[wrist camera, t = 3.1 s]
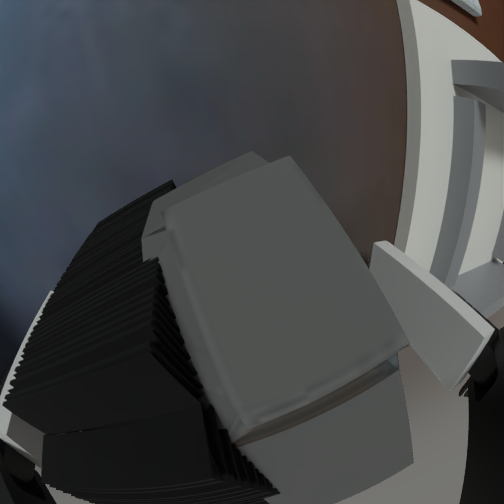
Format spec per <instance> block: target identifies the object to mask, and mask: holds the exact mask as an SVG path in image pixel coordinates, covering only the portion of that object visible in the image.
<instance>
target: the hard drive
mask: <svg viewBox="0 0 504 504" xmlns="http://www.w3.org/2000/svg"><path fill="white" fill-rule="evenodd" d="M451 1H452V2H454V3H455V4H457V5H458V6H460V7H461V8H463V9H464V10H466V11H467V12H469V13H470V14H471V15H473V16H481V14H482V12H481V8H480V5H479V2H478V0H451Z"/></svg>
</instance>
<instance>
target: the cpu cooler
mask: <svg viewBox="0 0 504 504" xmlns="http://www.w3.org/2000/svg"><path fill="white" fill-rule="evenodd" d="M71 262H72V263H70V266H68V267H67V269H66V272H65V273H63V276H62V277H61V280H60V281H59V283H57V287H55V290H53V291H54V293H52V294H51V295H50V298H49V299H48V300H47V301H48V302H47V303H46V304H45V307H44V308H43V311H42V312H41V313H42V315H41V316H39V318H40V320H38V321H37V325H35V326H34V327H33V331H32V332H31V333H30V335H31V336H30V337H28V341H29V342H27V343H26V344H25V348H23V351H22V352H23V353H24V354H23V355H21V357H22V358H23V360H21V361H19V362H18V363H19V364H20V365H19V366H17V367H15V370H14V371H15V372H16V374H14V375H13V376H14V377H15V378H16V379H13V380H11V381H10V383H9V384H10V385H11V386H12V387H14V388H12V389H10V390H7V391H8V392H9V393H10V394H7V395H5V398H4V399H6V400H7V401H4V402H3V404H2V406H4V407H5V408H6V409H8V410H9V411H10V412H12V413H13V414H15V415H16V416H18V417H19V418H21V419H22V420H24V421H25V422H27V423H28V424H30V425H31V426H33V427H35V428H36V429H38V430H40V431H41V432H43V433H45V434H46V435H43V448H42V472H41V474H42V476H41V483H44V484H50V487H53V488H56V490H61V491H63V493H69V494H71V496H75V497H76V498H79V499H83V500H86V501H89V502H90V503H95V504H334V503H337V502H339V501H341V500H344V499H346V498H349V497H351V496H353V495H355V494H357V493H360V492H362V491H364V490H366V489H368V488H370V487H372V486H374V485H376V484H378V483H380V482H382V481H383V480H385V479H387V478H389V477H391V476H393V475H394V474H396V473H398V472H399V471H401V470H403V469H405V468H406V467H407V466H409V465H411V464H412V463H414V462H413V452H412V442H411V434H410V427H409V419H408V413H407V407H406V401H405V395H404V390H403V385H402V380H401V375H400V371H399V362H398V353H397V352H398V351H399V350H401V349H402V348H404V347H405V346H406V345H408V344H409V343H410V342H409V340H408V338H407V336H406V334H405V332H404V330H403V328H402V326H401V325H400V323H399V321H398V319H397V317H396V315H395V313H394V312H393V310H392V308H391V306H390V304H389V303H388V301H387V299H386V297H385V296H384V294H383V292H382V290H381V289H380V287H379V285H378V283H377V282H376V280H375V278H374V277H373V275H372V273H371V272H370V270H369V268H368V267H367V265H366V264H365V262H364V260H363V259H362V257H361V256H360V254H359V252H358V251H357V249H356V248H355V246H354V245H353V243H352V242H351V240H350V238H349V237H348V235H347V234H346V232H345V231H344V229H343V228H342V226H341V225H340V224H339V222H338V221H337V219H336V218H335V216H334V215H333V213H332V212H331V210H330V209H329V208H328V206H327V205H326V203H325V202H324V201H323V199H322V198H321V196H320V195H319V194H318V192H317V191H316V190H315V188H314V187H313V185H312V184H311V183H310V181H309V180H308V179H307V177H306V176H305V175H304V173H303V172H302V171H301V170H300V168H299V167H298V166H297V164H296V163H295V162H294V161H293V159H292V158H291V157H290V155H289V156H287V157H284V158H281V159H279V160H276V161H274V162H271V163H268V162H267V161H266V160H264V159H263V158H261V157H260V156H259V155H257V154H256V153H254V152H253V151H250V152H248V153H246V154H244V155H241V156H239V157H237V158H235V159H233V160H231V161H229V162H227V163H225V164H222V165H220V166H218V167H216V168H214V169H212V170H210V171H208V172H206V173H204V174H202V175H200V176H198V177H196V178H194V179H193V180H191V181H189V182H187V183H185V184H183V185H181V186H179V187H178V188H176V186H175V184H174V182H173V180H170V181H168V182H167V183H165V184H163V185H161V186H159V187H157V188H156V189H154V190H152V191H150V192H148V193H147V194H145V195H143V196H141V197H140V198H138V199H136V200H135V201H133V202H131V203H129V204H128V205H126V206H124V207H123V208H121V209H119V210H118V211H116V212H115V213H113V214H111V215H110V216H108V217H107V218H105V219H103V220H102V221H100V222H99V223H98V224H97V225H96V227H95V228H94V230H93V232H91V234H90V235H89V236H88V238H87V239H86V240H85V242H84V244H83V245H82V246H81V248H80V249H79V251H78V253H76V255H75V256H74V258H73V259H72V261H71ZM79 431H81V432H79ZM72 432H73V433H72ZM62 433H64V434H62Z"/></svg>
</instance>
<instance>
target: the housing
mask: <svg viewBox="0 0 504 504" xmlns="http://www.w3.org/2000/svg"><path fill="white" fill-rule="evenodd" d="M396 1H397V6H398V11H399V16H400V22H401V29H402V36H403V44H404V53H405V64H406V79H407V144H406V160H405V172H404V182H403V191H402V199H401V206H400V213H399V219H398V226H397V231H396V237H395V242H394V246H395V247H396V248H398V249H399V250H400V251H402V252H403V253H404V254H406V255H407V256H408V257H410V258H411V259H412V260H414V261H415V262H416V263H418V264H419V265H420V266H422V267H423V268H424V269H425V270H427V271H428V272H429V273H431V274H432V275H433V276H434V277H436V278H437V279H438V280H439V281H441V282H442V283H443V284H444V285H445V286H447V287H448V288H449V289H451V290H453V291H455V292H456V293H458V294H459V295H460V296H462V297H463V298H464V299H465V300H466V302H469V303H470V304H471V305H472V306H473V308H475V309H477V310H478V311H479V312H480V313H481V314H482V315H483V316H484V317H485V318H486V319H487V318H488V317H490V316H491V315H492V314H494V313H495V312H496V311H497V310H498V309H500V308H501V307H502V306H504V265H503V264H502V263H503V262H504V62H501V61H500V60H499V59H498V58H497V57H496V56H495V55H493V54H492V53H491V52H490V51H489V50H488V49H487V48H485V47H484V46H483V45H482V44H481V43H479V42H478V41H477V40H476V39H474V38H473V37H472V36H471V35H469V34H468V33H467V32H465V31H464V30H463V29H461V28H460V27H459V26H457V25H456V24H454V23H453V22H451V21H450V20H448V19H447V18H445V17H444V16H442V15H441V14H439V13H438V12H436V11H434V10H433V9H431V8H429V7H428V6H426V5H424V4H422V3H421V2H419V1H417V0H396Z"/></svg>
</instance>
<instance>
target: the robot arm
mask: <svg viewBox="0 0 504 504" xmlns="http://www.w3.org/2000/svg"><path fill="white" fill-rule="evenodd" d="M369 270H370V272H371V273H372V275H373V277H374V278H375V280H376V282H377V283H378V285H379V287H380V289H381V290H382V292H383V294H384V296H385V297H386V299H387V301H388V303H389V304H390V306H391V308H392V310H393V312H394V313H395V315H396V317H397V319H398V321H399V323H400V325H401V326H402V328H403V330H404V332H405V334H406V336H407V338H408V340H409V342H410V343H409V344H410V346H411V347H412V348H413V349H414V350H415V351H416V353H417V354H418V355H419V356H420V357H421V358H422V360H423V361H424V362H425V363H426V365H427V366H428V367H429V368H430V369H431V371H432V372H433V373H434V374H435V376H436V377H437V378H438V379H439V380H440V382H441V383H442V384H443V385H444V387H445V388H446V389H447V391H448V392H449V391H450V390H452V389H453V388H455V387H456V386H457V385H458V384H460V383H461V381H462V380H463V379H464V378H465V376H466V375H467V373H469V374H470V375H471V376H470V378H469V379H468V380H467V382H466V383H465V384H464V386H463V387H462V388H461V390H460V392H459V396H461V395H462V394H463V393H464V391H465V390H466V389H467V388H468V390H467V391H466V393H465V394H464V396H466V397H468V398H469V431H468V449H467V460H466V469H465V476H464V483H463V489H462V494H461V499H460V504H504V327H503V328H501V329H500V330H499V329H497V328H496V327H495V326H494V325H493V324H492V323H491V322H490V321H489V320H488V319H486V318H485V317H484V316H483V315H482V314H481V313H480V312H479V311H478V310H477V309H475V308H473V306H472V305H471V304H470V303H469V302H466V300H465V299H464V298H463V297H462V296H460V295H459V294H458V293H456V292H455V291H453V290H451V289H449V288H448V287H447V286H445V285H444V284H443V283H442V282H441V281H439V280H438V279H437V278H436V277H434V276H433V275H432V274H431V273H429V272H428V271H427V270H425V269H424V268H423V267H422V266H420V265H419V264H418V263H416V262H415V261H414V260H412V259H411V258H410V257H408V256H407V255H406V254H404V253H403V252H402V251H400V250H399V249H398V248H396V247H395V246H393V245H392V244H391V243H389V242H388V241H381V242H375V243H374V245H373V251H372V257H371V262H370V268H369ZM52 293H54V291H50V293H49V294H48V296H47V298H46V299H45V301H44V303H43V304H42V306H41V308H40V310H39V312H38V313H37V315H36V317H35V319H34V321H33V323H32V324H31V326H30V328H29V330H28V332H27V334H26V336H25V338H24V340H23V342H22V344H21V347H20V349H19V351H18V353H17V355H16V357H15V360H14V362H13V363H12V364H11V365H10V366H9V367H8V369H7V370H6V371H5V373H4V375H3V377H2V380H1V382H0V504H56V502H55V500H54V499H53V497H52V496H51V494H50V492H49V490H48V489H47V487H46V485H45V484H44V483H41V476H40V475H39V474H38V472H37V471H36V470H35V465H37V466H38V467H40V468H42V448H43V435H46V434H45V433H43V432H41V431H40V430H38V429H36V428H35V427H33V426H31V425H30V424H28V423H27V422H25V421H24V420H22V419H21V418H19V417H18V416H16V415H15V414H13V413H12V412H10V411H9V410H8V409H6V408H5V407H4V406H2V404H3V402H4V401H7V400H6V399H4V398H5V395H7V394H10V393H9V392H8V391H7V390H10V389H12V388H14V387H12V386H11V385H10V384H9V383H10V381H11V380H13V379H16V378H15V377H14V376H13V375H14V374H16V372H15V371H14V370H15V367H17V366H19V365H20V364H19V363H18V362H19V361H21V360H23V358H22V357H21V355H23V354H24V353H23V352H22V351H23V348H25V344H26V343H27V342H29V341H28V337H30V336H31V335H30V333H31V332H32V331H33V327H34V326H35V325H37V321H38V320H40V318H39V316H41V315H42V313H41V312H42V311H43V308H44V307H45V304H46V303H47V302H48V301H47V300H48V299H49V298H50V295H51V294H52ZM62 434H64V433H62Z"/></svg>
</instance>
